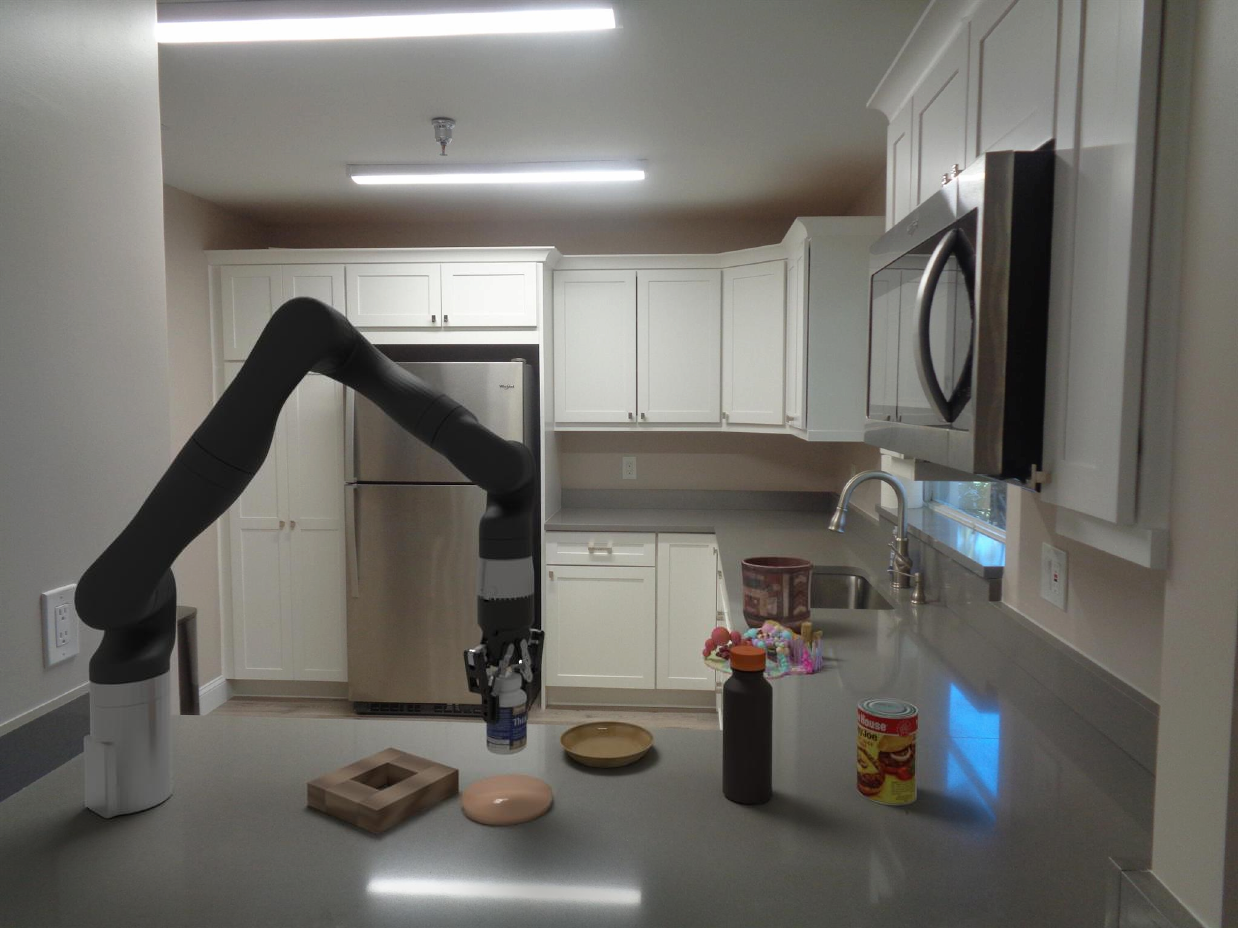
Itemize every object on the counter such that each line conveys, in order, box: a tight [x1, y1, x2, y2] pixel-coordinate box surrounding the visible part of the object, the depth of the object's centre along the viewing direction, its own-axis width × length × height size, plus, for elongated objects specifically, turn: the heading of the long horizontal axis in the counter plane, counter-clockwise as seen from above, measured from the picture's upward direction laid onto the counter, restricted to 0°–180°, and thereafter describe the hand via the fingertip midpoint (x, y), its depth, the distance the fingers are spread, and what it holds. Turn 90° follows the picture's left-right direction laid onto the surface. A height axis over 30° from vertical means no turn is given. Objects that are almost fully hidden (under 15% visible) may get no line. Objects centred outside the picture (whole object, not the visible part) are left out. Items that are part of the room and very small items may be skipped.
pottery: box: [741, 555, 814, 635], centre depth 194 cm, size 18×18×18 cm
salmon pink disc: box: [461, 773, 553, 826], centre depth 103 cm, size 12×12×1 cm
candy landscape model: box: [701, 620, 824, 680], centre depth 168 cm, size 25×24×9 cm
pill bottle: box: [485, 671, 528, 756], centre depth 103 cm, size 5×5×10 cm
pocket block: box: [306, 747, 460, 835], centre depth 105 cm, size 14×14×3 cm
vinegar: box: [721, 646, 774, 805], centre depth 106 cm, size 7×7×20 cm
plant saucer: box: [558, 720, 655, 769], centre depth 120 cm, size 15×15×3 cm
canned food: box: [856, 696, 919, 807], centre depth 106 cm, size 8×8×12 cm
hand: (506, 714), depth 103 cm, fingers closed on pill bottle, 5 cm apart
